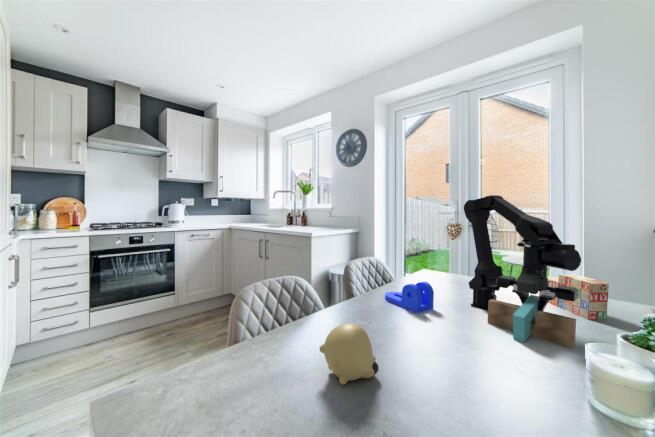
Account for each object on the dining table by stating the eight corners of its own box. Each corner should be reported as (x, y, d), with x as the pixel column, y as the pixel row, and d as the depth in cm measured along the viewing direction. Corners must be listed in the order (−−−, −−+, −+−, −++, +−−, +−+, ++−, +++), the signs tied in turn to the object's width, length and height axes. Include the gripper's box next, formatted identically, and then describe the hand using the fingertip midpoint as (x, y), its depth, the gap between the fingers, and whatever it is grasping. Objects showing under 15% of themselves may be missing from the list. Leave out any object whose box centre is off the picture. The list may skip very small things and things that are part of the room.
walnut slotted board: (487, 323, 86) (488, 300, 85) (490, 321, 87) (491, 299, 87) (573, 348, 70) (574, 321, 70) (575, 345, 72) (576, 318, 72)
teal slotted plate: (531, 316, 85) (530, 294, 84) (541, 318, 83) (540, 296, 82) (513, 339, 75) (512, 314, 74) (524, 342, 73) (524, 317, 72)
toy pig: (361, 407, 53) (397, 362, 56) (325, 371, 49) (364, 325, 52) (339, 377, 62) (370, 340, 65) (306, 344, 58) (341, 307, 61)
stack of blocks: (538, 299, 111) (539, 268, 111) (553, 299, 111) (555, 268, 111) (588, 320, 90) (589, 282, 89) (607, 320, 90) (609, 282, 89)
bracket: (433, 309, 97) (433, 284, 97) (416, 313, 93) (417, 287, 93) (395, 295, 113) (396, 273, 112) (380, 298, 108) (380, 276, 108)
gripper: (489, 261, 83) (487, 312, 84) (571, 273, 69) (568, 334, 70) (503, 257, 91) (501, 305, 91) (579, 267, 76) (577, 323, 77)
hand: (533, 315), depth 82 cm, fingers closed on teal slotted plate, 2 cm apart
